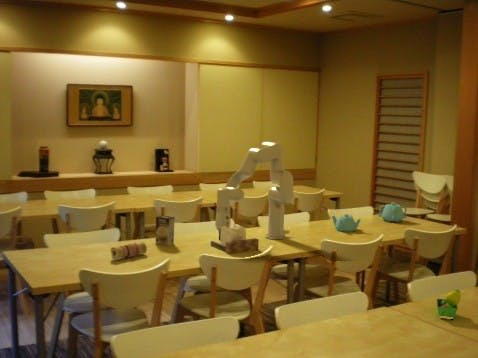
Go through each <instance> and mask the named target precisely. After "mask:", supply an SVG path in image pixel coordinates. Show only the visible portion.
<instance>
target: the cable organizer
mask: <svg viewBox="0 0 478 358" xmlns="http://www.w3.org/2000/svg"><path fill="white" fill-rule="evenodd" d="M246 239H247V229H246V228H245V227H243V226H242V225H239V224H234V225H233V227H232V228H231V227H230V228H229V227H227V226H222V227H221V236H220V241H219V243H220V244H222V245H224V246H226V242H229V241H238V240H246Z"/></svg>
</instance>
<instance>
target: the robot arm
mask: <svg viewBox="0 0 478 358" xmlns="http://www.w3.org/2000/svg"><path fill="white" fill-rule="evenodd" d="M284 150H285V148H284V145H282V144H281V143H280V142H276V141H275V142H274V141H263V142H262V143H261V144H260V148H259V147H252V148H250V149H248V151H247V153H246V154H245V157H244V159H243V161H242V162H241V164H240V167H239V168H238V169H237V170H236V172H235V173H233V174H232V176H230V178H229V179H227V182H226V185H225V187H220V188H218V189H217V191H216V192H217V193H216V194H217V195H216V214H215V223H214V225H215V227H216V230H217V231H218V241H219V242H220V236H221V227H222V226H227V227H229V228H231V213H230V211H231V210H230V206H231V202H233V201H234V202H240V201H242V200H243V199H244V198H245V192H244V191H243V189H241V188H238V186H239V185H240V184H241V183H242V182H243V181H245V180H247V179H249V178H251V177H252V176H253V175H254V173H255V171H256V168H257V167H258V165H259V164H265V163H268V162H269V180H270V182H271V183H272V184H273V185H275V186H272V187H271V188H269V190H268V192H267V200H268V221H267V222H268V223H267V224H268V225H267V233H266V234H265V238H266V239H268V240H284V239H286V237H287V236H286V235H288V234H290V233H291V232H290V230H285V229H284V227H285V225H284V224H285V205H289V204H291V202H292V201H293V200H294V177H293V174H292V173H291V172H290V171H289V170H285V163H284V157H283V154H284V152H285V151H284ZM276 185H277V186H276Z"/></svg>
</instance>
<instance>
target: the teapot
mask: <svg viewBox="0 0 478 358" xmlns="http://www.w3.org/2000/svg"><path fill="white" fill-rule="evenodd" d="M331 217H332V222H333V224H334V225H333V226H335V229H336V230H337V231H338V232H343V233H352V232H355V231H356V230H357V229H358V226H359V224H360V222H361V220H362V219H360V218H358V219H357V220H356V221H355V219H354V217H353V215H351V214H347V213H345V214H344V215H340V216H339V217H338V219H337V218H336V216H335V215H332V216H331Z"/></svg>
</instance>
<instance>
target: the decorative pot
mask: <svg viewBox="0 0 478 358" xmlns="http://www.w3.org/2000/svg"><path fill="white" fill-rule="evenodd" d="M390 203H391V204H385V205H384V204H382V205H379V212H378V217H380V218H382V220H383V221H386V223H387V222H388V223H390V222H395V223H400V222H402V221H403V220H404V219H406V218H407V216H408V215H407V214H406V212H407V210H408V209H407V207H406V206H404V205H403V206H401V205H400V204H396V203H397V202H390ZM382 207H383V208H382ZM403 209H404V210H403ZM403 211H404V212H403Z"/></svg>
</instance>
